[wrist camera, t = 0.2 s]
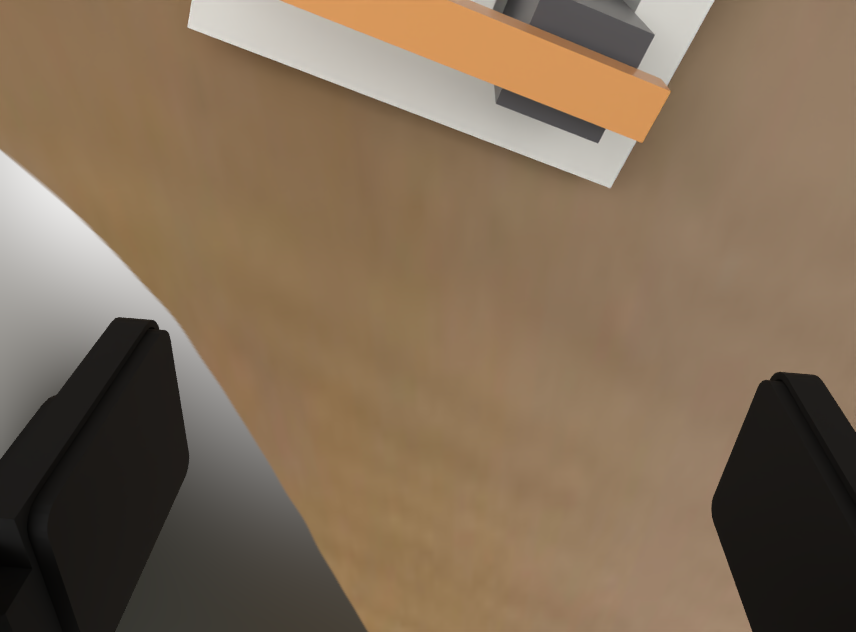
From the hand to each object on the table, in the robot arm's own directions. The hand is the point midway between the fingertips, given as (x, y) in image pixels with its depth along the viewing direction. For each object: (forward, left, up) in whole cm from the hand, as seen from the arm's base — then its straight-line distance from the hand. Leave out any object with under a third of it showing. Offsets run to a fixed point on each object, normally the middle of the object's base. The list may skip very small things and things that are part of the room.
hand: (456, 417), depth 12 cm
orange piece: (-2, -2, -26) cm, 26 cm away
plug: (-2, +4, -29) cm, 29 cm away
